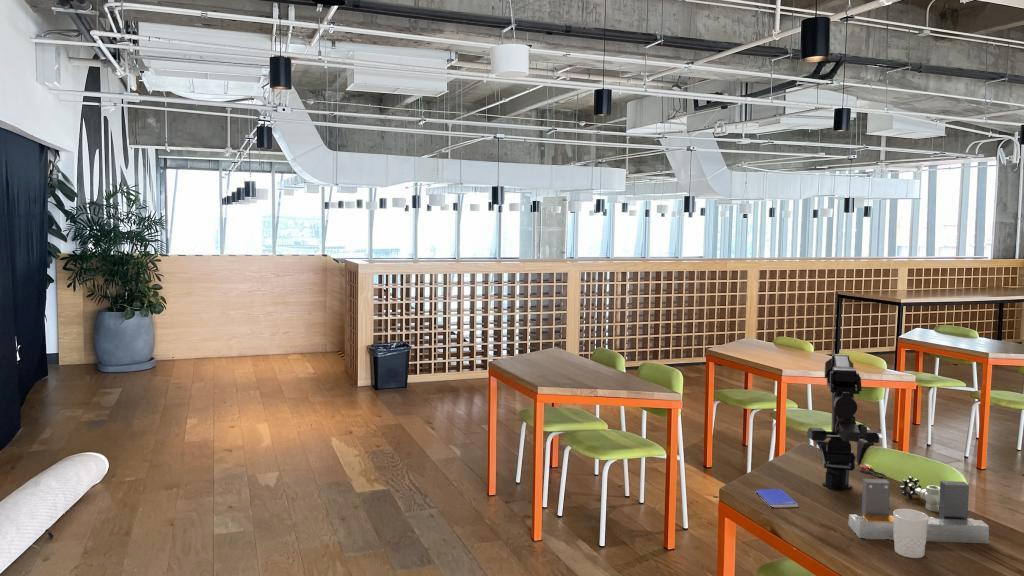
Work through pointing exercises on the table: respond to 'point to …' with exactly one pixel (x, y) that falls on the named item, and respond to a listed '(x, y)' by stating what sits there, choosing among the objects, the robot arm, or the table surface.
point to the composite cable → (869, 470)
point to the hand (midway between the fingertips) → (842, 464)
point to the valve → (923, 493)
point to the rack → (932, 520)
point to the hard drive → (777, 498)
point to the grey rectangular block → (875, 497)
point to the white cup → (910, 532)
